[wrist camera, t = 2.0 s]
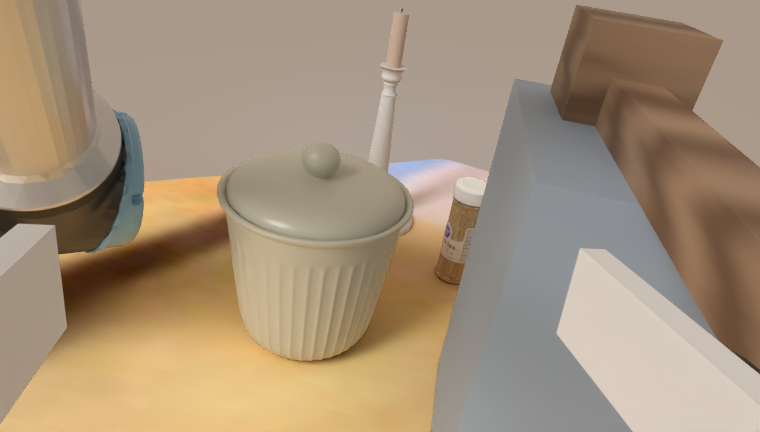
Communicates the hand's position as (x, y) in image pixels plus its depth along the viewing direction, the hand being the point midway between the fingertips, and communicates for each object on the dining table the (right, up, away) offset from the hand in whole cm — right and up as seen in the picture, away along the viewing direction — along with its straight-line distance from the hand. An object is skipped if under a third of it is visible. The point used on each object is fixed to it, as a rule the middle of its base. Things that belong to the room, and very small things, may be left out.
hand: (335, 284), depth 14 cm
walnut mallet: (+14, +3, +12) cm, 19 cm away
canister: (-7, -10, +44) cm, 46 cm away
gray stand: (+11, -19, +32) cm, 39 cm away
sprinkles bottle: (+11, -6, +56) cm, 58 cm away
